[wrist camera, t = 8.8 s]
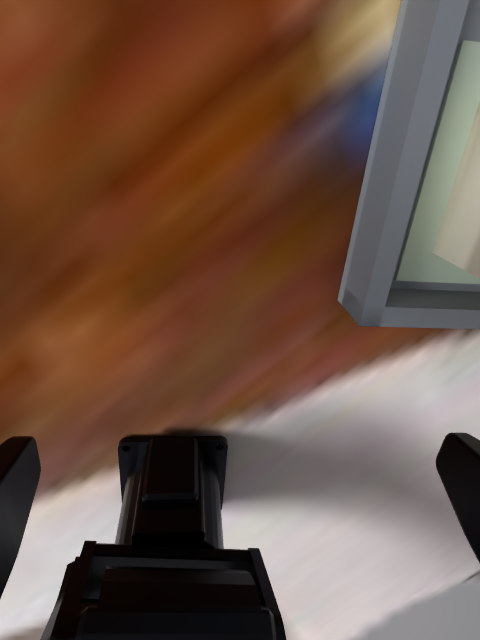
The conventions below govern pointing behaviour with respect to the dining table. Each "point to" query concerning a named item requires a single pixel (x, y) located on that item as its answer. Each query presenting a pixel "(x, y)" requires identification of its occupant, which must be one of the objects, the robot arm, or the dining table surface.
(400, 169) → the corner arena
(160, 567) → the robot arm
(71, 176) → the dining table surface
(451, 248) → the birch block
